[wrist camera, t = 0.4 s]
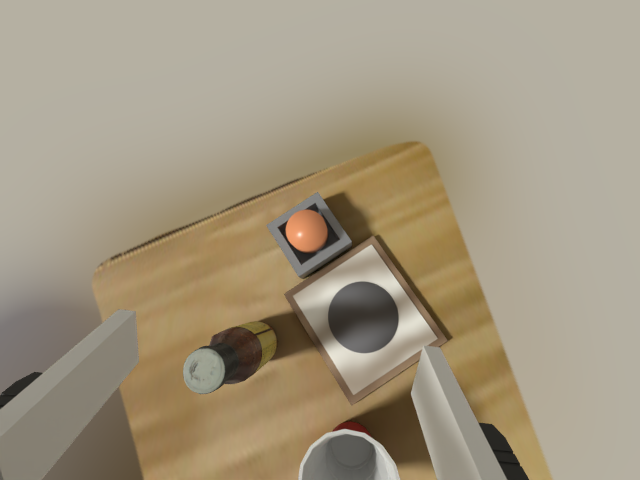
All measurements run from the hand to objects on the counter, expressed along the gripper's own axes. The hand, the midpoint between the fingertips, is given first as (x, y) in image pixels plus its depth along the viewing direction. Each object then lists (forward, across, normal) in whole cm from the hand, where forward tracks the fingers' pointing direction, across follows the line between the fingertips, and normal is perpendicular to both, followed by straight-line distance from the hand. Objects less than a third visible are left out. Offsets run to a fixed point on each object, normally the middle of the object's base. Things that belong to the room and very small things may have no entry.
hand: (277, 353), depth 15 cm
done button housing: (+36, 0, +6) cm, 37 cm away
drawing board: (+30, -9, +15) cm, 35 cm away
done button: (+34, 0, +5) cm, 34 cm away
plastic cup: (+22, -9, +30) cm, 38 cm away
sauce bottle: (+29, +5, +21) cm, 36 cm away
